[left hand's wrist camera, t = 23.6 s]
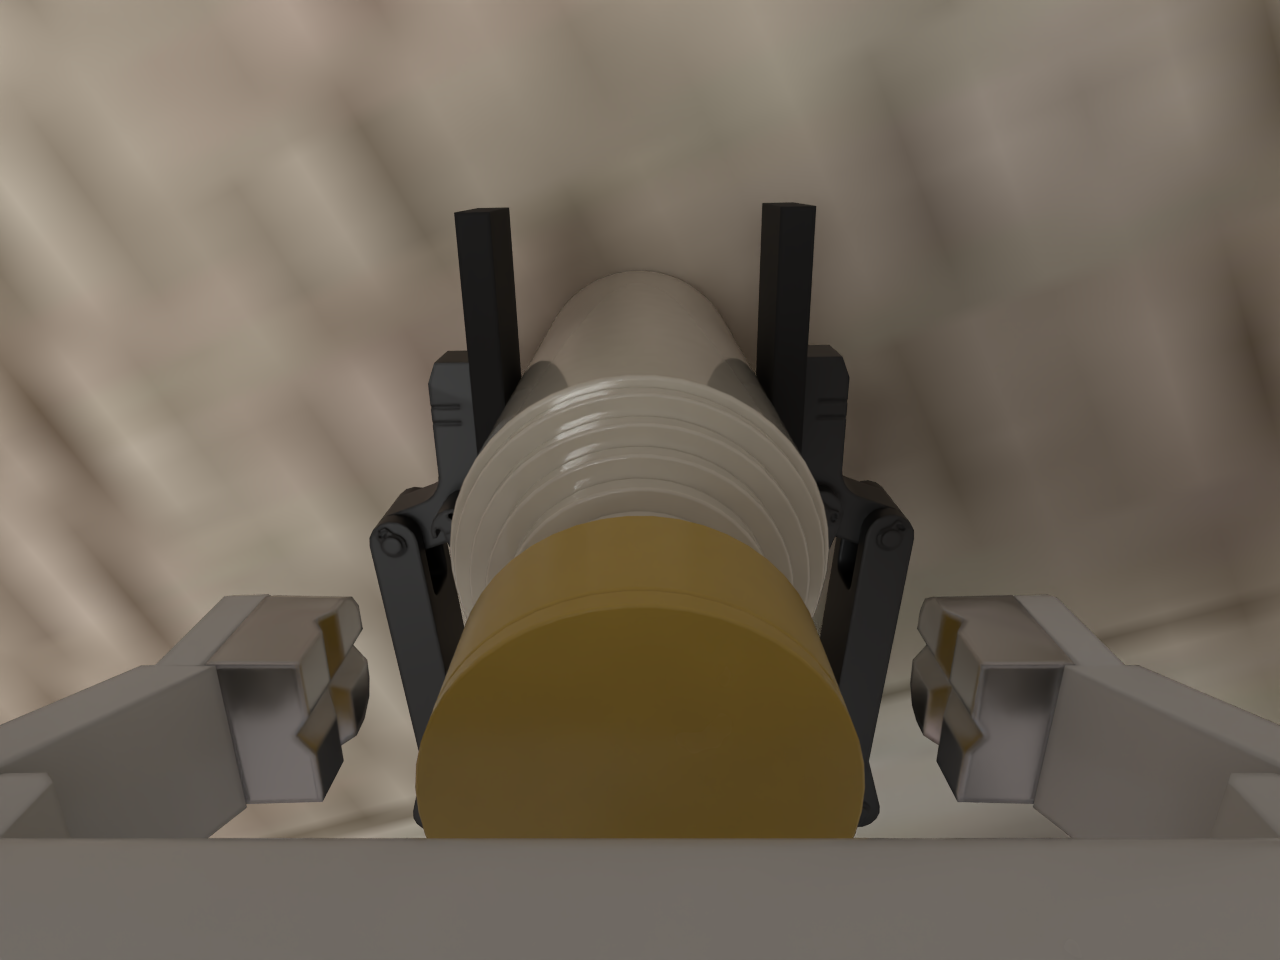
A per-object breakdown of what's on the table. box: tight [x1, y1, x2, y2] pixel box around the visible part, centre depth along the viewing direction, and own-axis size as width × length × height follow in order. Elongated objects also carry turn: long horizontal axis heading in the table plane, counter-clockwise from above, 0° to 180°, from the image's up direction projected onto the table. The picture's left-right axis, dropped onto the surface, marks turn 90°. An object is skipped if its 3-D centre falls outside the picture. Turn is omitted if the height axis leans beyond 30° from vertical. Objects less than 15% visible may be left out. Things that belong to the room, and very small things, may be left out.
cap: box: [415, 516, 865, 838], centre depth 9 cm, size 4×4×2 cm
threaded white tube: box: [450, 271, 829, 619], centre depth 17 cm, size 6×6×18 cm
